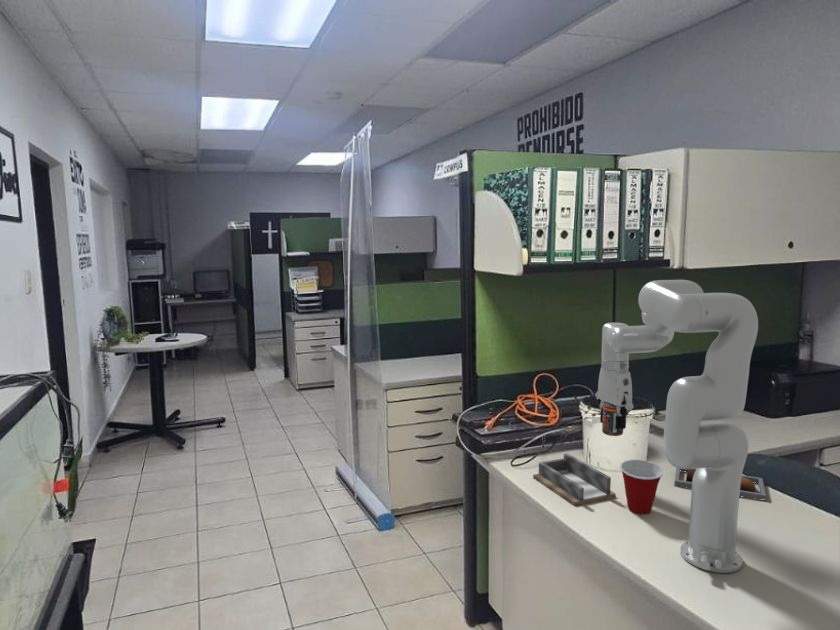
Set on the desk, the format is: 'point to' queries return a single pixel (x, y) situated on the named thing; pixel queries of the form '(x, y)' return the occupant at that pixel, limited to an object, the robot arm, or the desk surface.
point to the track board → (574, 480)
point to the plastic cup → (640, 484)
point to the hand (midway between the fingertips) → (612, 424)
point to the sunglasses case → (744, 486)
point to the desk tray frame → (742, 493)
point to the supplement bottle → (610, 420)
